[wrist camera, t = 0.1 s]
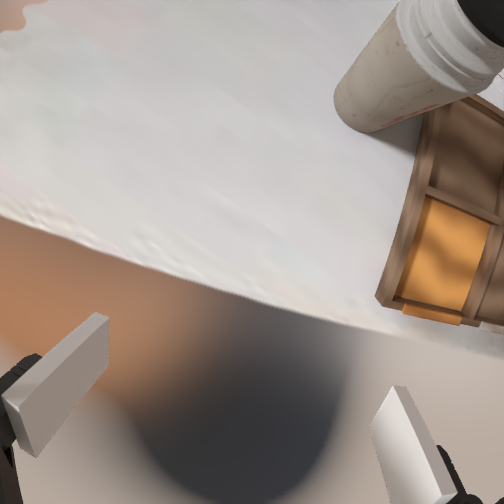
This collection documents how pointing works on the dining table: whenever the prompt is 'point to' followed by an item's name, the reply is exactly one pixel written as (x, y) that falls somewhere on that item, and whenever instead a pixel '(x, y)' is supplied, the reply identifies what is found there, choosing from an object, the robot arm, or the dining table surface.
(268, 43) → the dining table surface
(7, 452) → the robot arm
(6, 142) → the dining table surface
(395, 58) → the thermos bottle
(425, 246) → the wooden compartment tray
